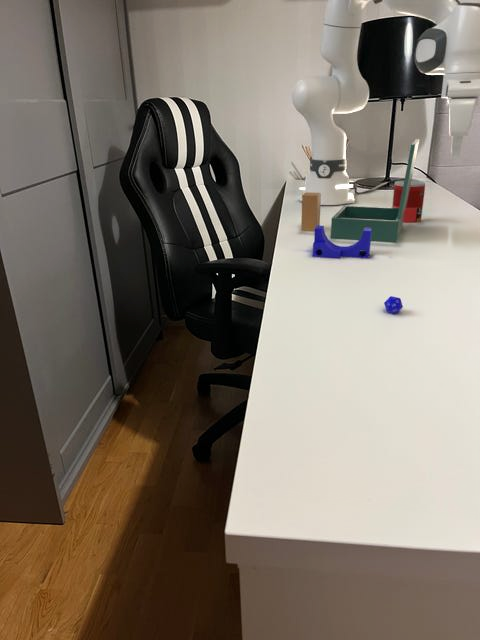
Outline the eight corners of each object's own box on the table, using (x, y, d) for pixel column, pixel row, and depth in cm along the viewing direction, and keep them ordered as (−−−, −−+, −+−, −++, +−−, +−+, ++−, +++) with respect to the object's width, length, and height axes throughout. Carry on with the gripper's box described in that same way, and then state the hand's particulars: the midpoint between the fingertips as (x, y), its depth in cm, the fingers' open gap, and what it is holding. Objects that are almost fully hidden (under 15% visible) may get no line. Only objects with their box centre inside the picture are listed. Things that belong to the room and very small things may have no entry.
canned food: (422, 225, 136) (427, 184, 131) (391, 225, 137) (395, 184, 133) (419, 219, 143) (423, 180, 138) (390, 219, 144) (393, 180, 140)
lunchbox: (330, 241, 123) (331, 218, 121) (342, 226, 137) (344, 205, 135) (396, 245, 118) (398, 221, 115) (402, 230, 132) (404, 208, 130)
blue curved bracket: (312, 256, 111) (313, 230, 109) (316, 251, 115) (317, 225, 113) (367, 260, 108) (369, 232, 105) (369, 254, 112) (371, 228, 109)
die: (405, 314, 80) (402, 303, 78) (389, 319, 81) (385, 308, 79) (401, 301, 82) (397, 290, 80) (385, 306, 83) (381, 295, 81)
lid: (411, 144, 108) (415, 144, 108) (415, 139, 123) (419, 139, 122) (397, 219, 115) (400, 219, 115) (402, 206, 129) (406, 206, 129)
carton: (304, 230, 135) (305, 192, 131) (319, 230, 133) (320, 192, 130) (301, 233, 131) (302, 194, 127) (316, 234, 130) (317, 195, 126)
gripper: (448, 90, 118) (440, 152, 123) (448, 88, 101) (439, 160, 106) (477, 89, 116) (468, 152, 121) (482, 86, 98) (471, 160, 104)
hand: (454, 155), depth 113 cm, fingers closed
